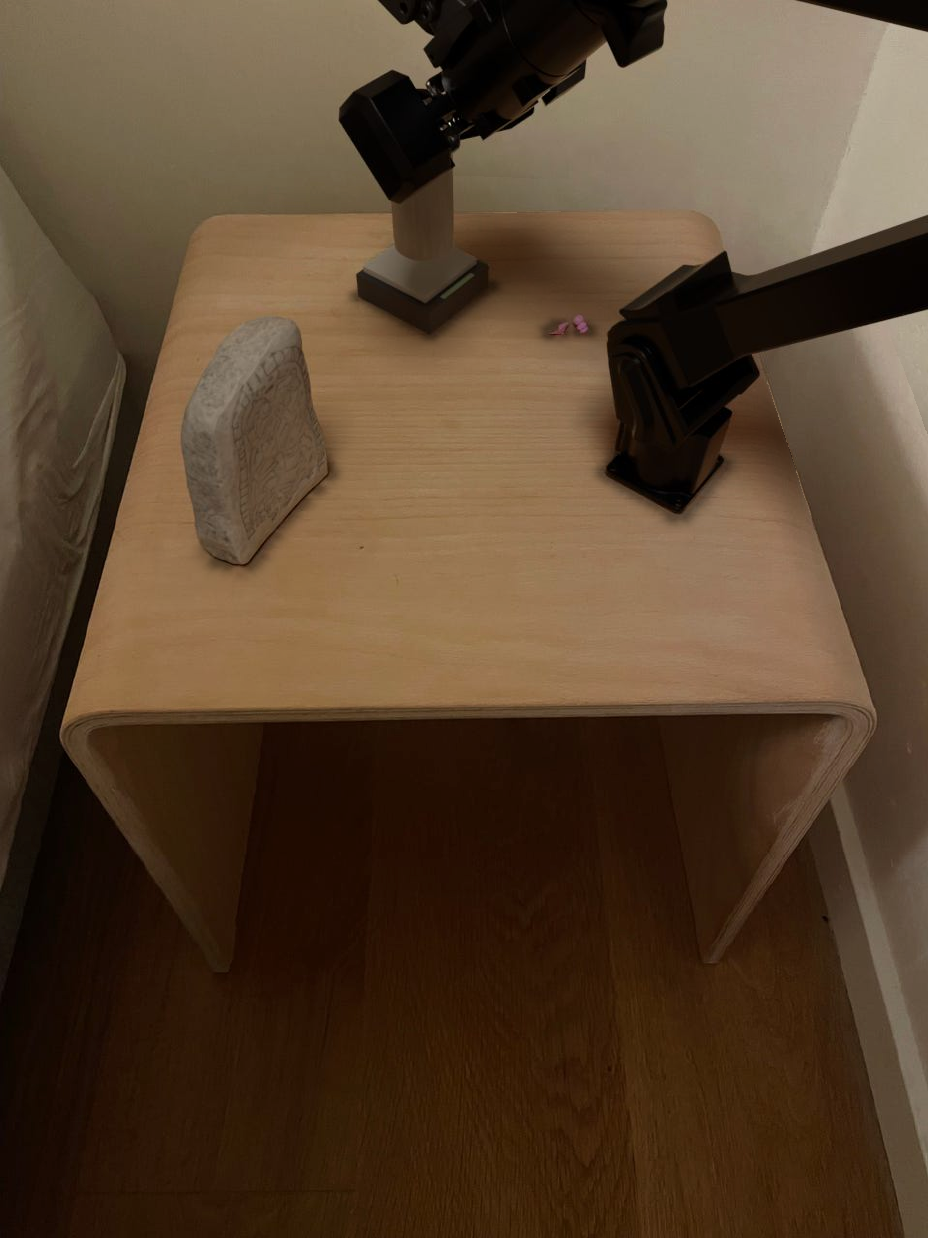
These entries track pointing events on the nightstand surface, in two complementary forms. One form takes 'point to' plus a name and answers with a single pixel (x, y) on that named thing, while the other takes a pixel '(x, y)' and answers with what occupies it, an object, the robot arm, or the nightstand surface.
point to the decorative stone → (251, 438)
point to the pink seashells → (577, 321)
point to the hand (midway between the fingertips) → (406, 152)
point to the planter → (426, 216)
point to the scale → (422, 285)
